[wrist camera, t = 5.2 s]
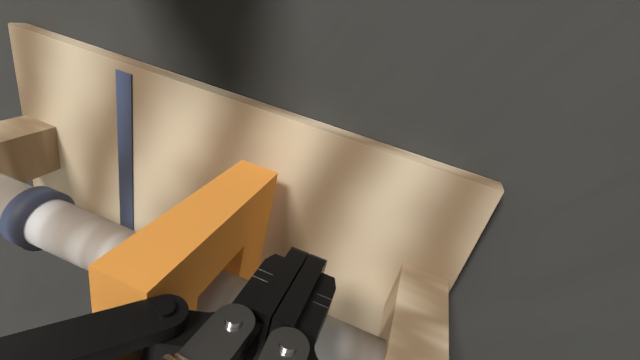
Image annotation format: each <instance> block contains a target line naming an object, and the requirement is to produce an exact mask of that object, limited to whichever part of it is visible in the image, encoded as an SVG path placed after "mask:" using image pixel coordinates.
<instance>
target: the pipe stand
mask: <svg viewBox="0 0 640 360" xmlns="http://www.w3.org/2000/svg"><path fill="white" fill-rule="evenodd" d="M8 28H9V34H10V40H11V46H12V53H13V59H14V65H15V71H16V78H17V84H18V90H19V97H20V103H21V109H22V115H23V116H20V117H16V118H11V119H7V120H3V121H0V233H1V235H2V236H3V238H4V239H6V240H7V241H9V242H11V243H13V244H15V245H17V246H20V247H22V248H24V249H26V250H29V251H39V250H45V251H47V252H49V253H51V254H53V255H55V256H58V257H60V258H62V259H64V260H66V261H68V262H70V263H73V264H75V265H77V266H79V267H81V268H83V269H85V270H87V271H89V270H88V265H90V264H91V263H93V262H94V261H96V260H97V259H99V258H100V257H101V256H103V255H104V254H106V253H107V252H109V251H110V250H112V249H113V248H115V247H116V246H117V245H119V244H120V243H122V242H123V241H125V240H126V239H128V238H129V237H131V236H132V235H133V234H135V233H136V232H138V231H139V230H141V229H142V228H144V227H145V226H147V225H148V224H149V223H151V222H152V221H154V220H155V219H157V218H158V217H160V216H161V215H163V214H164V213H165V212H167V211H168V210H170V209H171V208H173V207H174V206H176V205H177V204H178V203H180V202H181V201H183V200H184V199H186V198H187V197H189V196H190V195H192V194H193V193H194V192H196V191H197V190H199V189H200V188H202V187H203V186H205V185H206V184H208V183H209V182H210V181H212V180H213V179H215V178H216V177H218V176H219V175H221V174H222V173H224V172H225V171H226V170H228V169H229V168H231V167H232V166H234V165H235V164H237V163H238V162H240V161H241V160H244V161H247V162H250V163H252V164H255V165H258V166H261V167H263V168H266V169H269V170H271V171H274V172H277V173H278V176H277V181H276V186H275V191H274V196H273V201H272V206H271V211H270V216H269V221H268V226H267V231H266V236H265V241H264V246H263V251H262V256H261V261H260V265H261V264H262V262H263V261H264V260H265V259H266V258H268V257H270V256H272V255H274V254H278V255H280V256H283V257H285V256H286V254H287V253H288V251H289V250H290V249H291V247H295V248H298V249H300V250H303V251H305V252H308V253H309V255H310V254H313V255H315V256H318V257H320V258H323V259H325V260H327V264H326V267H325V271H324V274H327V275H329V276H332V277H334V278H335V283H336V291H335V294H334V297H333V300H332V302H331V305H330V308H329V311H328V314H327V317H326V319H325V322H324V324H323V327H322V329H321V332H320V334H319V337H318V339H317V342H316V344H315V353H316V356H317V358H318V360H449V298H448V293H449V292H450V290H451V288H452V286H453V284H454V282H455V281H456V279H457V277H458V275H459V273H460V272H461V270H462V268H463V266H464V264H465V262H466V261H467V259H468V257H469V255H470V253H471V251H472V250H473V248H474V246H475V244H476V242H477V241H478V239H479V237H480V235H481V233H482V231H483V230H484V228H485V226H486V224H487V222H488V220H489V219H490V217H491V215H492V213H493V211H494V209H495V208H496V206H497V204H498V202H499V200H500V199H501V197H502V195H503V193H504V189H503V186H502V183H501V182H498V181H495V180H492V179H489V178H486V177H483V176H480V175H477V174H474V173H471V172H468V171H465V170H462V169H459V168H456V167H453V166H450V165H447V164H444V163H441V162H438V161H435V160H432V159H429V158H426V157H423V156H420V155H417V154H414V153H411V152H408V151H405V150H402V149H399V148H396V147H393V146H391V145H388V144H385V143H382V142H379V141H376V140H373V139H370V138H367V137H364V136H361V135H358V134H355V133H352V132H349V131H346V130H343V129H340V128H337V127H334V126H331V125H328V124H325V123H322V122H319V121H316V120H313V119H310V118H307V117H304V116H301V115H298V114H295V113H292V112H289V111H286V110H283V109H280V108H277V107H274V106H271V105H269V104H266V103H263V102H260V101H257V100H254V99H251V98H248V97H245V96H242V95H239V94H236V93H233V92H230V91H227V90H224V89H221V88H218V87H215V86H212V85H209V84H206V83H203V82H200V81H197V80H194V79H191V78H188V77H185V76H182V75H179V74H176V73H173V72H170V71H167V70H164V69H161V68H158V67H155V66H152V65H149V64H146V63H144V62H141V61H138V60H135V59H132V58H129V57H126V56H123V55H120V54H117V53H114V52H111V51H108V50H105V49H102V48H99V47H96V46H93V45H90V44H87V43H84V42H81V41H78V40H75V39H72V38H69V37H66V36H63V35H60V34H57V33H54V32H51V31H48V30H45V29H42V28H39V27H36V26H33V25H30V24H27V23H8ZM30 180H33V184H34V187H32V186H30V185H27V184H25V182H27V181H30ZM260 265H259V266H260ZM248 281H249V280H247V279H244V278H242V277H240V276H237V275H235V274H233V273H230V272H228V271H226V270H222V271H221V272H220V273H219V274H218V275H217V276H216V277H215V279H214V280H213V281H212V282H211V283H210V284H209V285H208V286H207V288H206V289H205V290H204V291H203V292H202V293H201V294H200V295H199V296H198V301H197V311H201V312H216V311H217V310H218V309H219V308H220V307H222V306H224V305H227V304H231V303H232V302H233V301H234V299H235V298H236V297H237V295H238V294H239V293H240V291H241V290H242V289H243V287H244V286H245V285H246V284H247V282H248Z"/></svg>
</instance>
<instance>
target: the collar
mask: <svg viewBox="0 0 640 360" xmlns="http://www.w3.org/2000/svg"><path fill="white" fill-rule="evenodd" d="M277 176H278V173H277V172H274V171H271V170H269V169H266V168H263V167H261V166H258V165H255V164H252V163H250V162H247V161H244V160H241V161H240V162H238V163H237V164H235V165H234V166H232V167H231V168H229V169H228V170H226V171H225V172H224V173H222V174H221V175H219V176H218V177H216V178H215V179H213V180H212V181H210V182H209V183H208V184H206V185H205V186H203V187H202V188H200V189H199V190H197V191H196V192H194V193H193V194H192V195H190V196H189V197H187V198H186V199H184V200H183V201H181V202H180V203H178V204H177V205H176V206H174V207H173V208H171V209H170V210H168V211H167V212H165V213H164V214H163V215H161V216H160V217H158V218H157V219H155V220H154V221H152V222H151V223H149V224H148V225H147V226H145V227H144V228H142V229H141V230H139V231H138V232H136V233H135V234H133V235H132V236H131V237H129V238H128V239H126V240H125V241H123V242H122V243H120V244H119V245H117V246H116V247H115V248H113V249H112V250H110V251H109V252H107V253H106V254H104V255H103V256H101V257H100V258H99V259H97V260H96V261H94V262H93V263H91V264H90V265H88V270H89V281H90V293H91V304H92V313H95V312H98V311H102V310H106V309H110V308H114V307H117V306H121V305H125V304H129V303H133V302H136V301H140V300H144V299H148V298H151V297H155V296H159V295H164V294H173V295H177V296H180V297H182V298H183V299H184V300H185V301H186V302H187V304H188V307H189V310H194V311H197V301H198V296H199V295H200V294H201V293H202V292H203V291H204V290H205V289H206V288H207V286H208V285H209V284H210V283H211V282H212V281H213V280H214V279H215V277H216V276H217V275H218V274H219V273H220V272H221V271H222V270H226V271H228V272H230V273H233V274H235V275H237V276H240V277H242V278H244V279H247V280H250V278H251V277H252V276H253V274H254V273H255V272H256V270H258V268H259V265H260V261H261V256H262V251H263V246H264V241H265V236H266V231H267V226H268V221H269V216H270V211H271V206H272V201H273V196H274V191H275V186H276V181H277Z"/></svg>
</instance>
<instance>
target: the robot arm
mask: <svg viewBox="0 0 640 360" xmlns="http://www.w3.org/2000/svg"><path fill="white" fill-rule="evenodd" d="M326 264H327V260H325V259H323V258H320V257H318V256H315V255H313V254H310V255H309V253H308V252H305V251H303V250H300V249H298V248H295V247H291V249H290V250H289V251H288V253H287V254H286V256H285V257H283V256H280V255H278V254H274V255H272V256H270V257H268V258H266V259H265V260H264V261H263V262H262V264H261V265H260V266H259V268H258V270H256V272H255V273H254V274H253V276H252V277H251V278H250V280H249V281H248V282H247V284H246V285H245V286H244V287H243V289H242V290H241V291H240V293H239V294H238V295H237V297H236V298H235V299H234V301H233V302H232V303H231V304H227V305H224V306H222V307H220V308H219V309H218V310H217V311H216V312H201V311H194V310H189V307H188V304H187V302H186V301H185V300H184V299H183V298H182V297H180V296H177V295H173V294H164V295H159V296H155V297H151V298H148V299H144V300H140V301H136V302H133V303H129V304H125V305H121V306H117V307H114V308H110V309H106V310H102V311H98V312H95V313H91V314H87V315H83V316H80V317H76V318H72V319H68V320H64V321H61V322H57V323H53V324H49V325H45V326H42V327H38V328H34V329H30V330H27V331H23V332H19V333H15V334H11V335H8V336H4V337H0V360H318V358H317V356H316V353H315V344H316V342H317V339H318V337H319V334H320V332H321V329H322V327H323V324H324V322H325V319H326V317H327V314H328V311H329V308H330V305H331V302H332V300H333V297H334V294H335V291H336V283H335V278H334V277H332V276H329V275H327V274H324V271H325V267H326Z"/></svg>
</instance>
